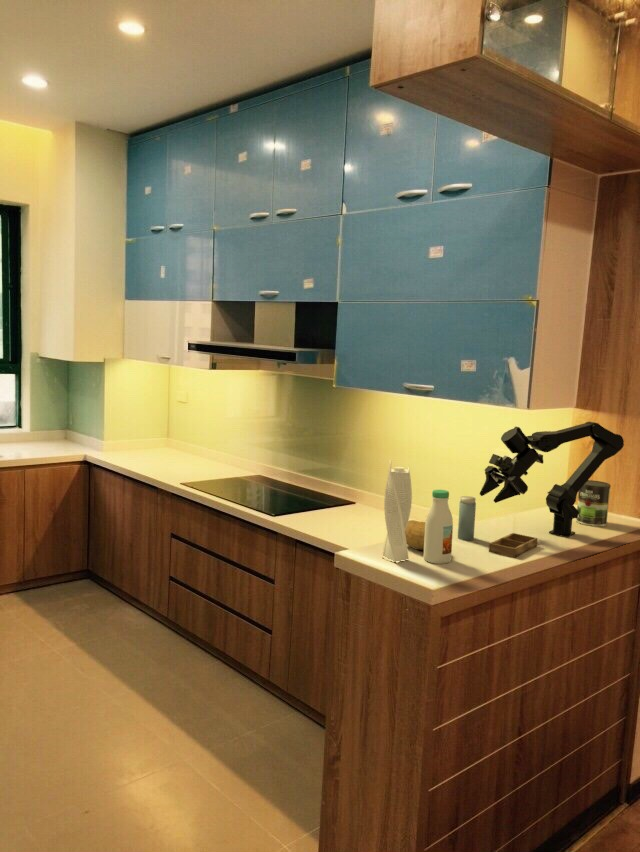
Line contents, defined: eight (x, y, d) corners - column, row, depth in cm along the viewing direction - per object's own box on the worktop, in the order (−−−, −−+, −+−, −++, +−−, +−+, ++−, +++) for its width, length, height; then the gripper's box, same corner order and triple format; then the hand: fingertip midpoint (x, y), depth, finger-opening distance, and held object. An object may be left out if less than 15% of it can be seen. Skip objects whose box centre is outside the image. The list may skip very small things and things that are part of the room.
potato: (414, 540, 222) (415, 514, 221) (446, 552, 211) (448, 525, 210) (390, 544, 217) (391, 518, 216) (422, 557, 205) (423, 530, 204)
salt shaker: (462, 535, 229) (464, 495, 228) (476, 538, 226) (479, 498, 224) (454, 538, 225) (457, 497, 224) (469, 541, 222) (471, 500, 221)
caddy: (512, 540, 224) (512, 532, 224) (537, 546, 219) (537, 538, 219) (488, 551, 212) (489, 543, 212) (514, 557, 207) (515, 549, 207)
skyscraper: (375, 558, 203) (379, 460, 199) (393, 553, 208) (398, 458, 204) (395, 565, 197) (400, 465, 193) (414, 560, 202) (419, 462, 198)
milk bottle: (432, 565, 198) (436, 494, 195) (418, 557, 205) (421, 488, 202) (456, 563, 201) (460, 493, 198) (441, 554, 208) (444, 487, 205)
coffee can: (601, 528, 243) (604, 487, 241) (571, 522, 250) (574, 482, 248) (611, 522, 251) (615, 483, 249) (582, 517, 257) (585, 478, 256)
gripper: (491, 441, 234) (458, 475, 233) (521, 450, 216) (486, 487, 215) (511, 464, 237) (479, 498, 236) (542, 475, 219) (508, 512, 218)
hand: (487, 498), depth 226 cm, fingers open, 9 cm apart
